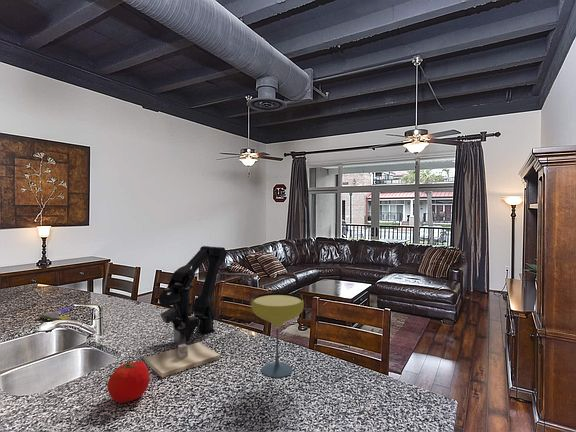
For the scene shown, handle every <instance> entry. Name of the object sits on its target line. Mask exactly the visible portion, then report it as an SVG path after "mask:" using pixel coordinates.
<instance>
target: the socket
mask: <svg viewBox="0 0 576 432" xmlns="http://www.w3.org/2000/svg"><path fill="white" fill-rule="evenodd" d="M191 342H192V337H191V338H190V340H189V342H186V338H185V330H184V329H183V328H182V325H179V326H178V328H175V329H174V328H173V343H174V344H175V345H176V346H178V345H181V344H184V343H185V344H186V345H191V344H192V343H191Z"/></svg>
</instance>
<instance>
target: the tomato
mask: <svg viewBox="0 0 576 432" xmlns="http://www.w3.org/2000/svg"><path fill="white" fill-rule="evenodd" d="M149 384H150V372H149V369H148V367H147V365H146V363H145V361H142V360H137V361H133V362H129V360H126V363H123V364H121V365H120V366H117V367H116V368H115V370H113V372H112V374H111V376H110V377H109V378H108V382H107V386H106V390H107V392H108V394H109V396H110V398H111V399H112V400H113V402H116V403H120V404H123V403H127V402H132V401H135V400H136V399H139V398H140V397H141V396H143V394H144V393H145V392H146V390H147V388H148V387H149Z"/></svg>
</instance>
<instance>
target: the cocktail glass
mask: <svg viewBox="0 0 576 432" xmlns="http://www.w3.org/2000/svg"><path fill="white" fill-rule="evenodd" d="M304 306H305V305H304V299H303V297H301V296H300V295H298V294H293V293H288V292H287V293H286V292H268V293H266V292H265V293H262V294H258V295H255V296H253V298H252V299H251V306H250V307H251V311H252V313H253V314H254V315H255V316H257V317H258V318H260V319H262V320H264V321H266V322H269V323H270V324H271V325H272V326H273V327H274V328H275V329H276V336H275V337H276V341H275V342H276V345H275V348H276V349H275V350H276V351H275V362H269V363H267V364H265V365H263V366H262V367H261V372H262V374H263V375H264V376H266V377H269V378H273V379H275V378H277V379H280V378H284V377H287V376H290V375H291V374H292V373H293V371H294V370H293V367H292V366H291V365H290V364H288V363H285V362H280V360H279V329H280V328H281V327H282V326H283V324H285V323H286V322H288V321H291V320H293V319H295V318H296V317H298V316H299V315H300V314H302V312H303V310H304Z"/></svg>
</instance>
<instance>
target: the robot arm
mask: <svg viewBox="0 0 576 432" xmlns="http://www.w3.org/2000/svg"><path fill="white" fill-rule="evenodd" d="M227 254H228V251H227V250H226V248H225V247H220V246H208V245H207V246H206V245H203V246H201V247H200V248H199V250H198V251H197V253H196V254H194V256H192V258H191V259H189V262H187V263H186V264H185V265H183V266H181V267H179V268H177V269H176V270H175V271H174V272H173V274H172V276H171V278H170V280H169V282H168V284H167V287H166V288H164V289H162V293H160V295H159V297H158V303H159V305H160V306H161V307H162V308H168V307H171V306H172V307H171V308H168V309H167V310H165V311H163V312H162V313H160V317H161V319H162V321H163V322H164V324H166V325H167V324H170V323H172V326H173V330H174V329H175V328H178V326H179V325H182V328H183V329H184V330H185V338H186V342H189V340H190V338H191V339H192V336H193V334H194V332H195V331H196V332H197V333H199V334H201V335H206V334H209V333H214V332H216V329H214V320H216V318H217V315H218V313H217V311H216V310H215V309H214V301H213V294H214V290H215V287H216V286H215V285H216V281H217V277H218V274H219V269H220V267H221V265H223V263H224V262H225V261H226V257H227V256H228V255H227ZM206 260H207V262H208V267H207V271H206V274H205V278H204V282H203V285H202V288H201V291H200V295H199V296H198V297H195V298H194V301H193V303H191V300H190V299H191V298H190V297H191V296H190V290H191V289H193V288H194V286H193V285H191V284H192V281H193V280H194V279H195V275H196V272H197V271H198V269H199V268H200V267H201V266H203V264H204V263H205V261H206ZM190 307H192V312H193V316H192V312H190V309H191V308H190Z"/></svg>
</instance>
